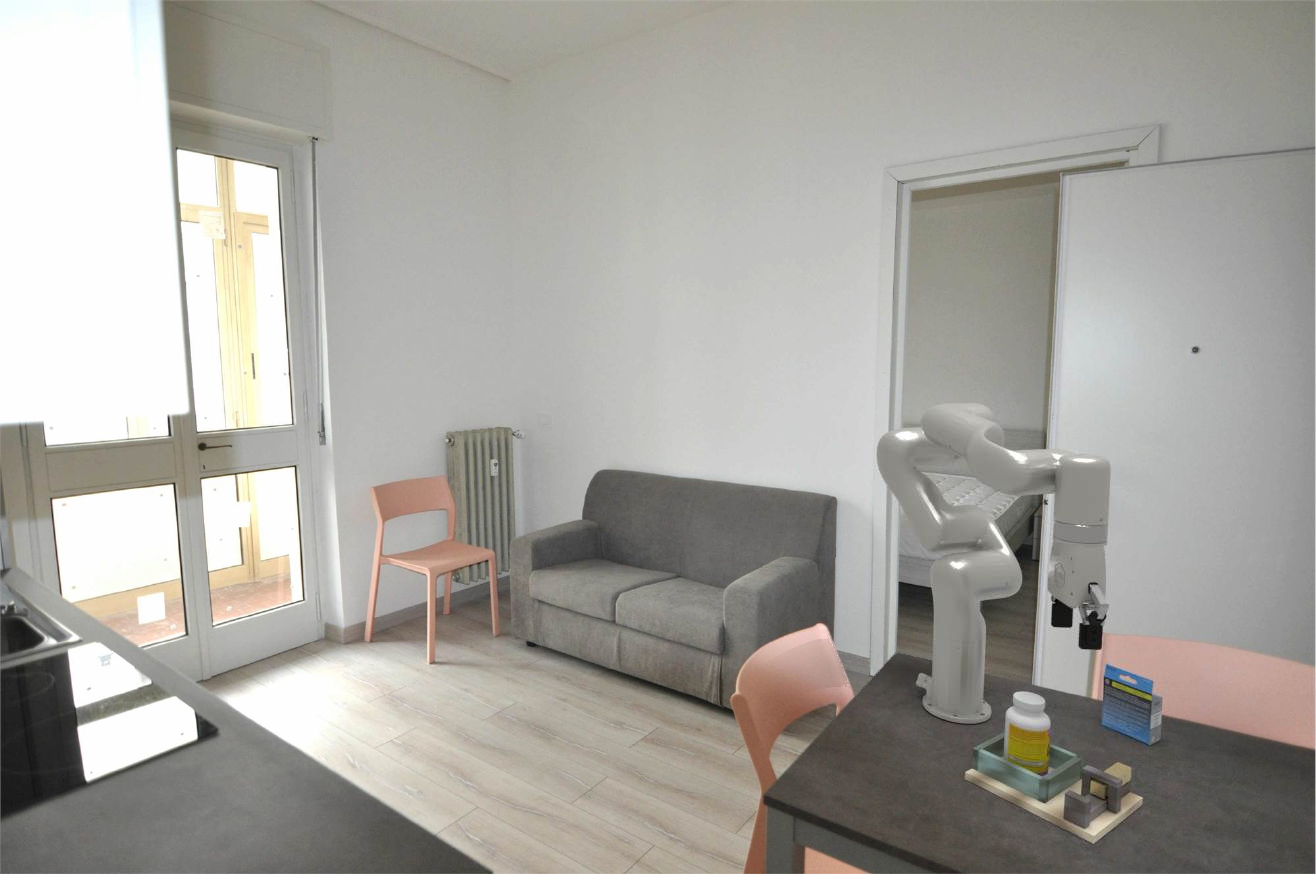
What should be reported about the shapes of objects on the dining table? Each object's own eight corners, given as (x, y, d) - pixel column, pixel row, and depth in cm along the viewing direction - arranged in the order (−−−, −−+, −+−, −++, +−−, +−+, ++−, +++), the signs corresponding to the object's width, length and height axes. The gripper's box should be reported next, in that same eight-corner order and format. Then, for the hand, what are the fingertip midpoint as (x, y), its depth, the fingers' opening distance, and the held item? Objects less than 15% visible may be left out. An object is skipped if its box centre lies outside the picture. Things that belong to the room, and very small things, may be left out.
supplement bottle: (1053, 785, 116) (1058, 708, 115) (1009, 781, 117) (1013, 705, 116) (1040, 763, 122) (1044, 690, 121) (998, 759, 124) (1001, 686, 122)
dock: (964, 779, 120) (966, 743, 119) (1016, 749, 129) (1018, 716, 128) (1093, 843, 104) (1096, 803, 103) (1142, 804, 113) (1144, 767, 112)
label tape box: (1161, 741, 132) (1166, 676, 131) (1149, 746, 130) (1153, 680, 129) (1112, 720, 140) (1115, 658, 139) (1099, 725, 138) (1103, 662, 137)
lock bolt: (1090, 792, 111) (1090, 780, 111) (1116, 773, 116) (1117, 761, 116) (1104, 799, 109) (1104, 786, 109) (1130, 779, 114) (1131, 767, 114)
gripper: (1032, 521, 124) (1029, 618, 125) (1080, 545, 107) (1075, 657, 108) (1079, 522, 123) (1074, 620, 125) (1134, 545, 106) (1129, 659, 108)
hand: (1075, 637), depth 117 cm, fingers open, 9 cm apart
